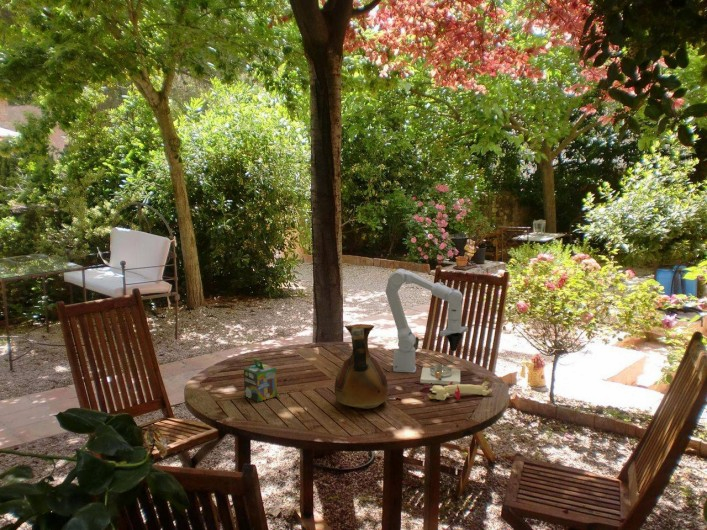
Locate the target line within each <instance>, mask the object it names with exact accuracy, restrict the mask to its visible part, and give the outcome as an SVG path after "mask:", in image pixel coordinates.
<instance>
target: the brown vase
mask: <svg viewBox="0 0 707 530" xmlns="http://www.w3.org/2000/svg"><path fill="white" fill-rule="evenodd" d="M344 327H345V328H346V330H347V331H348V333H349V334H350V336H351V337H350V338H351V345H352V346H351V347H352V350H351V351H352V352H351V355H350V357H348V358H347V359H346V360H345V361H344V362H343V363H342V365H341V366H340V367H339V369H338V371H337V373H336V378H335V381H334V396H335V400H336V401H337V402H338V403H341V404H342V405H344V406H348V407H353V408H361V409H374V408H377V407H379V406H380V405H382V404H383V403H384V402H385V401H386V399H387V397H388V392H389V385H388V380H387V375H386V373H385V370H384V368H383V367H382V365H381V364H380V362H379V361H378V360H377V359H376V358H375V357H373V356H372V355H371V353H370V351H369V346H368V345H369V344H368V343H369V335H370V333H371V331H372V330H373V329H374V328H375V325H374V324H366V323H365V324H364V323H357V324H350V325H345V326H344Z"/></svg>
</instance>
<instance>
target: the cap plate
mask: <svg viewBox="0 0 707 530" xmlns="http://www.w3.org/2000/svg"><path fill="white" fill-rule="evenodd" d="M419 382H420V384H431V383H432V384H433V385H449V384H450V383H451V382H453V383H452V384H451V385H455V384H461V369H457V368H452V375H451V376H448V377H441V378H440V379H437V378H435V376H433V375H431V374H430V367H425V366H423V367H422V370H421V375H420V381H419Z"/></svg>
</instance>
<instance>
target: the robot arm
mask: <svg viewBox="0 0 707 530" xmlns="http://www.w3.org/2000/svg"><path fill="white" fill-rule="evenodd" d="M386 283H387V284H386V288H385V295H386V299H387V301H388V305H389V307H390V311H391V313H392V318H393V320H394V323H395V327H396V330H397V339H398V342H397V347H398V348H396V349H395V348H394V351H393V362H392V367H393V368H392V369H393V370H392V371H393V372H396V373H397V372H398V373H416V370H417V366H416V351H415V348H414V344H415V342H416V337H417V336H416V335H415V334H414V333H413V331H412V329H411V327H409V323H408V320H407V317H406V314H405V311H404V308H403V305H402V301H401V299H400V296H399V290H400V289H401V287H402V286H403V285H410V284H414V285H417V286H418V287H422V288H423V289H426V290H429V291H430V292H431V295H432V296H434V297H437V298H439V299H440V300H443V301H445V302H446V301H447V303H448V308H447V328H445V329H443V330H440V331H439V336H440V337H446V339H447V340H448V343H449V347H450V350H451V351H452V352H456V351H457V350H458V346H459V343H460V341H461V339H462V338H463V333H468V332H469V327H468V326H462V319H463V318H462V312H463V311H462V310H463V309H462V305H463V304H462V300H463V298H464V296H463V293H462V292H461V291H460V290H459V289H455V288H454V287H449V286H447V285H444V282H442V281H441V282H435V283H434V282H432V281H429V280H427V279H426V278H423V277H422V276H420V275H418V274H416V273H414V272H413V271H410V270H406V269H404V268H398V269H395V271H393V272H392V273H391V274H390V276H389V277H388V279H387V282H386Z"/></svg>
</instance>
